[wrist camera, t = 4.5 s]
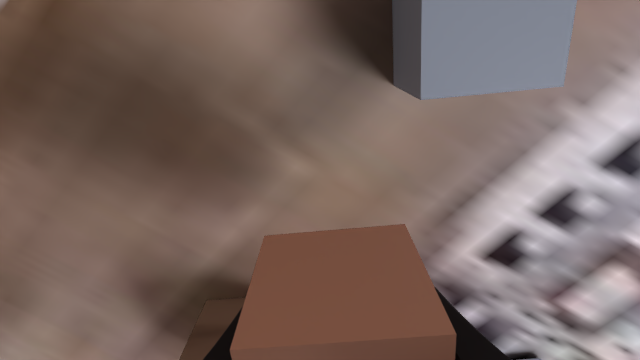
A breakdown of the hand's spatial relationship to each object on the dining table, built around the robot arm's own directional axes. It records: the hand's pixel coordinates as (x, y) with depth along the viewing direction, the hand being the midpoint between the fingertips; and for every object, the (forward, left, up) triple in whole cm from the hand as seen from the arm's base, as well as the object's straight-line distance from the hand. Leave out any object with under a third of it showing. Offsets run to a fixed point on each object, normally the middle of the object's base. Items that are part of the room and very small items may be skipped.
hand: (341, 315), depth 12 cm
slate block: (+9, -6, -8) cm, 14 cm away
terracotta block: (0, 0, -1) cm, 1 cm away
